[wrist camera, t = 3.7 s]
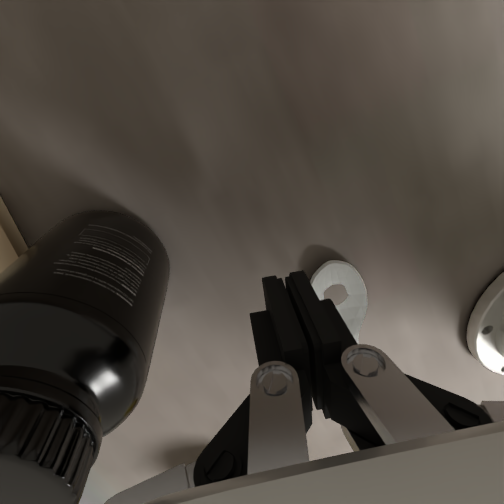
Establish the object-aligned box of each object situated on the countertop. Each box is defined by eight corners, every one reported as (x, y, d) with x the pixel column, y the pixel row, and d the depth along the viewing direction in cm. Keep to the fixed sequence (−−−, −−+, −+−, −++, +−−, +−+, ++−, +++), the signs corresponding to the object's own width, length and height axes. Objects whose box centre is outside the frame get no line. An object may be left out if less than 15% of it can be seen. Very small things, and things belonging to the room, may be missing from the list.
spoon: (351, 239, 20) (362, 250, 18) (393, 420, 29) (403, 437, 28) (291, 262, 20) (297, 275, 19) (352, 434, 29) (359, 452, 28)
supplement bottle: (19, 238, 17) (-317, 489, 6) (129, 186, 16) (-30, 360, 5) (97, 325, 20) (-33, 589, 9) (192, 283, 19) (169, 514, 9)
